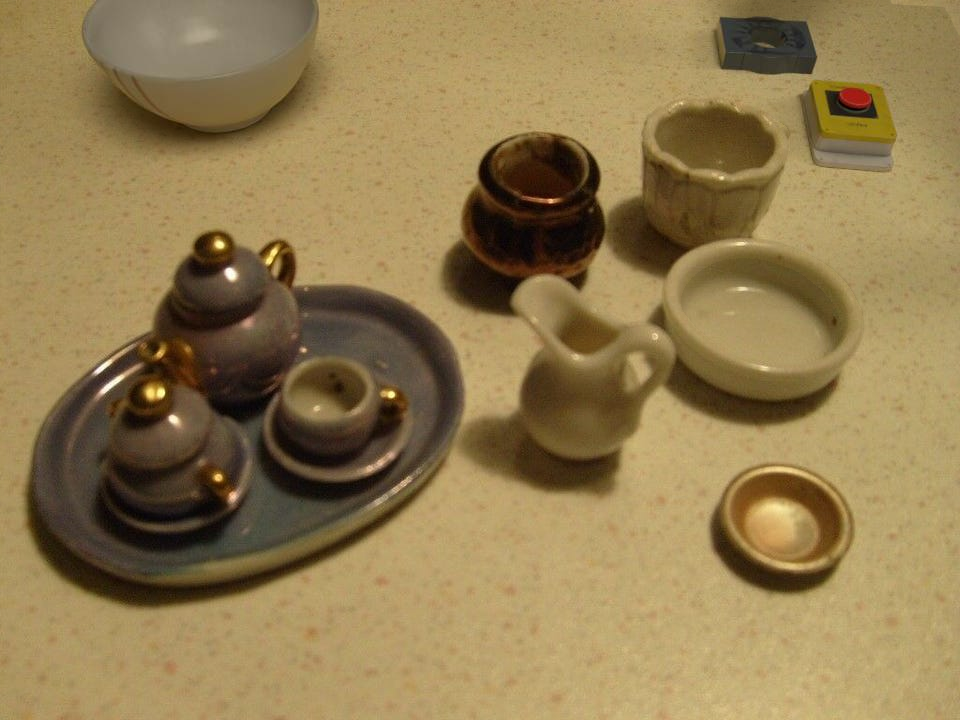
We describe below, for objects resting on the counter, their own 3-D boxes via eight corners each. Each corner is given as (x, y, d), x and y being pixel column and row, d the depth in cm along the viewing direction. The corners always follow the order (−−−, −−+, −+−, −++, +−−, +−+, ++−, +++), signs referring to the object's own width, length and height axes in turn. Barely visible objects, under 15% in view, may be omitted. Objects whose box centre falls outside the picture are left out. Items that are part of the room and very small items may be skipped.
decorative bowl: (89, 171, 100) (51, 79, 90) (141, 46, 117) (113, -43, 107) (320, 170, 100) (306, 79, 91) (338, 46, 117) (327, -42, 108)
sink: (800, 35, 121) (806, 18, 119) (812, 76, 114) (818, 59, 112) (714, 30, 121) (718, 14, 119) (721, 71, 115) (726, 54, 113)
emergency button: (885, 69, 108) (908, 142, 98) (872, 99, 111) (893, 172, 102) (810, 63, 108) (825, 135, 99) (799, 93, 112) (813, 165, 102)
